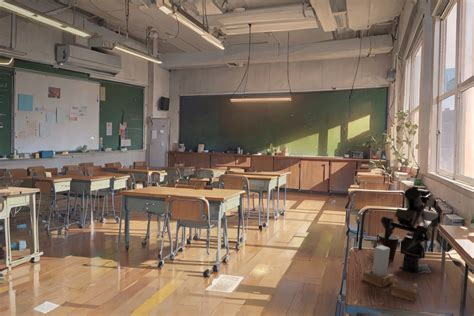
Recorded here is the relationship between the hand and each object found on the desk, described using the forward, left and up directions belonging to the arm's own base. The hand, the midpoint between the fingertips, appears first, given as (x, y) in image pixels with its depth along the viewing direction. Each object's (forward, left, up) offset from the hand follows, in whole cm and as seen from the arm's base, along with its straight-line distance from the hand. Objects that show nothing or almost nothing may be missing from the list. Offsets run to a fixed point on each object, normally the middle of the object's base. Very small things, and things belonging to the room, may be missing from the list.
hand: (395, 244), depth 152 cm
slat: (+9, +1, -13) cm, 15 cm away
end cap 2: (+9, +12, -14) cm, 20 cm away
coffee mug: (-19, -18, -14) cm, 30 cm away
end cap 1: (+9, +1, -14) cm, 16 cm away
